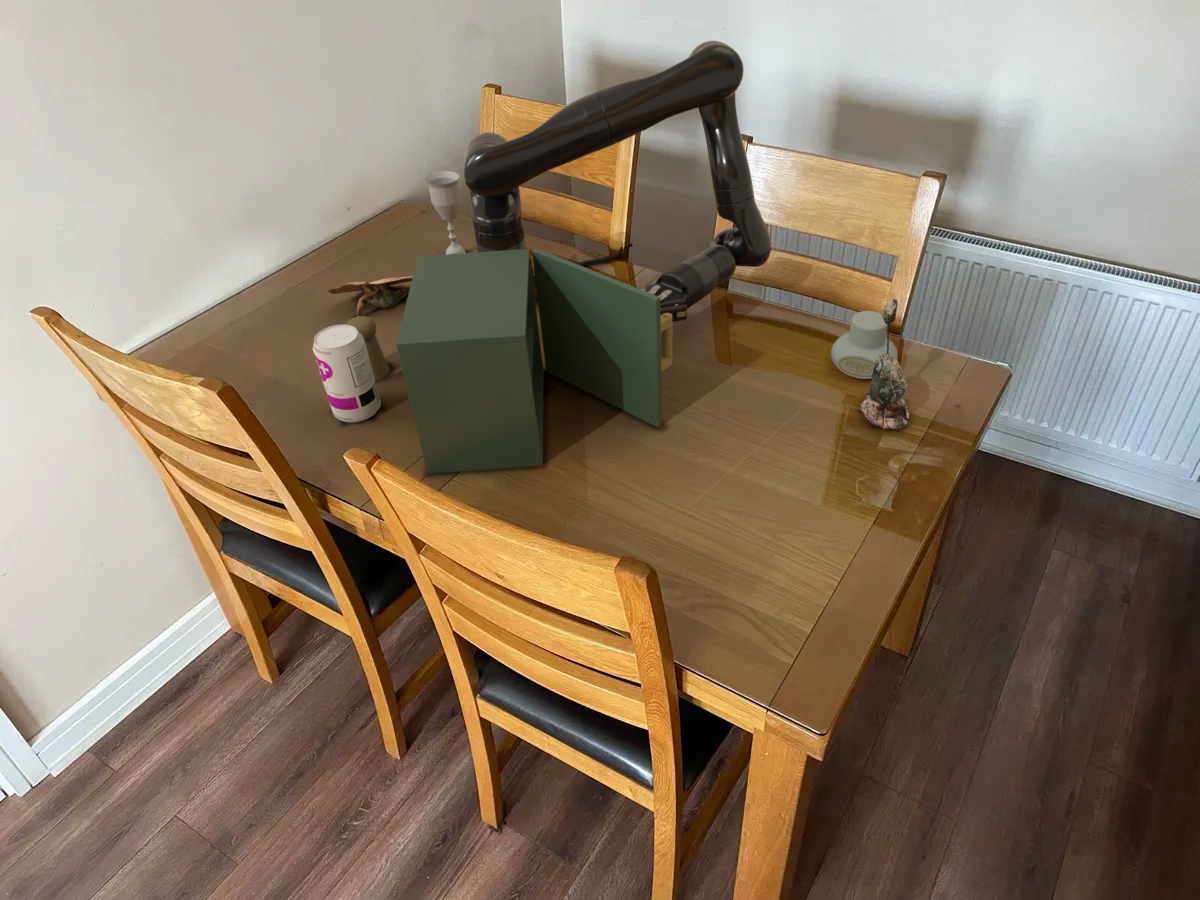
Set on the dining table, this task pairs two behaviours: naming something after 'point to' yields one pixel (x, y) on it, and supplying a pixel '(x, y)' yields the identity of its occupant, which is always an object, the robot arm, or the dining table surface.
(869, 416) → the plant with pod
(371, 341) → the pawn
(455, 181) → the chalice
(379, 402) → the supplement can
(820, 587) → the dining table surface
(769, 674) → the dining table surface
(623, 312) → the door
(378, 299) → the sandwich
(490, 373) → the cupboard
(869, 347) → the air freshener
